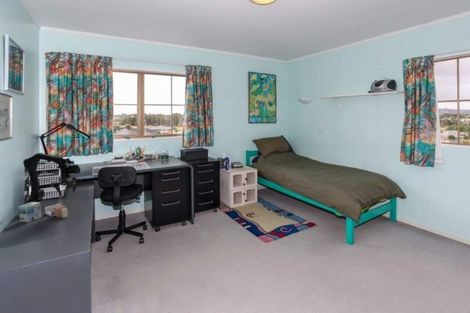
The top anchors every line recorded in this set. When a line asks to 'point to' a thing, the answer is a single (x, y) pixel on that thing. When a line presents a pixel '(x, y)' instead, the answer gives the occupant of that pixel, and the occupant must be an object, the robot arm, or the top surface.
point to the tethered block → (61, 211)
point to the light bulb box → (30, 212)
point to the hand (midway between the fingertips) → (67, 193)
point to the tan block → (50, 209)
